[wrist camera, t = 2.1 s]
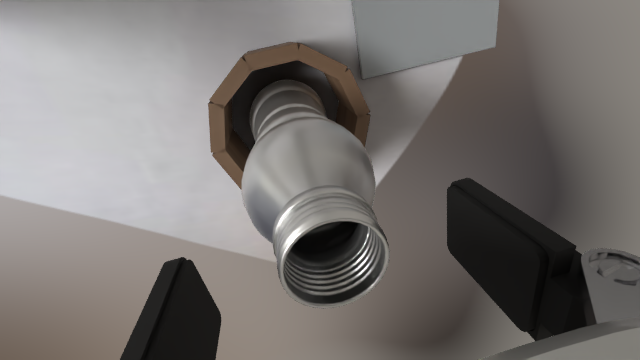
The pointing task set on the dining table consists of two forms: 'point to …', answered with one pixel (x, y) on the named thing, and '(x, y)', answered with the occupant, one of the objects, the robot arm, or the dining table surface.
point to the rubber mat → (420, 31)
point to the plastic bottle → (313, 198)
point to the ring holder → (340, 78)
